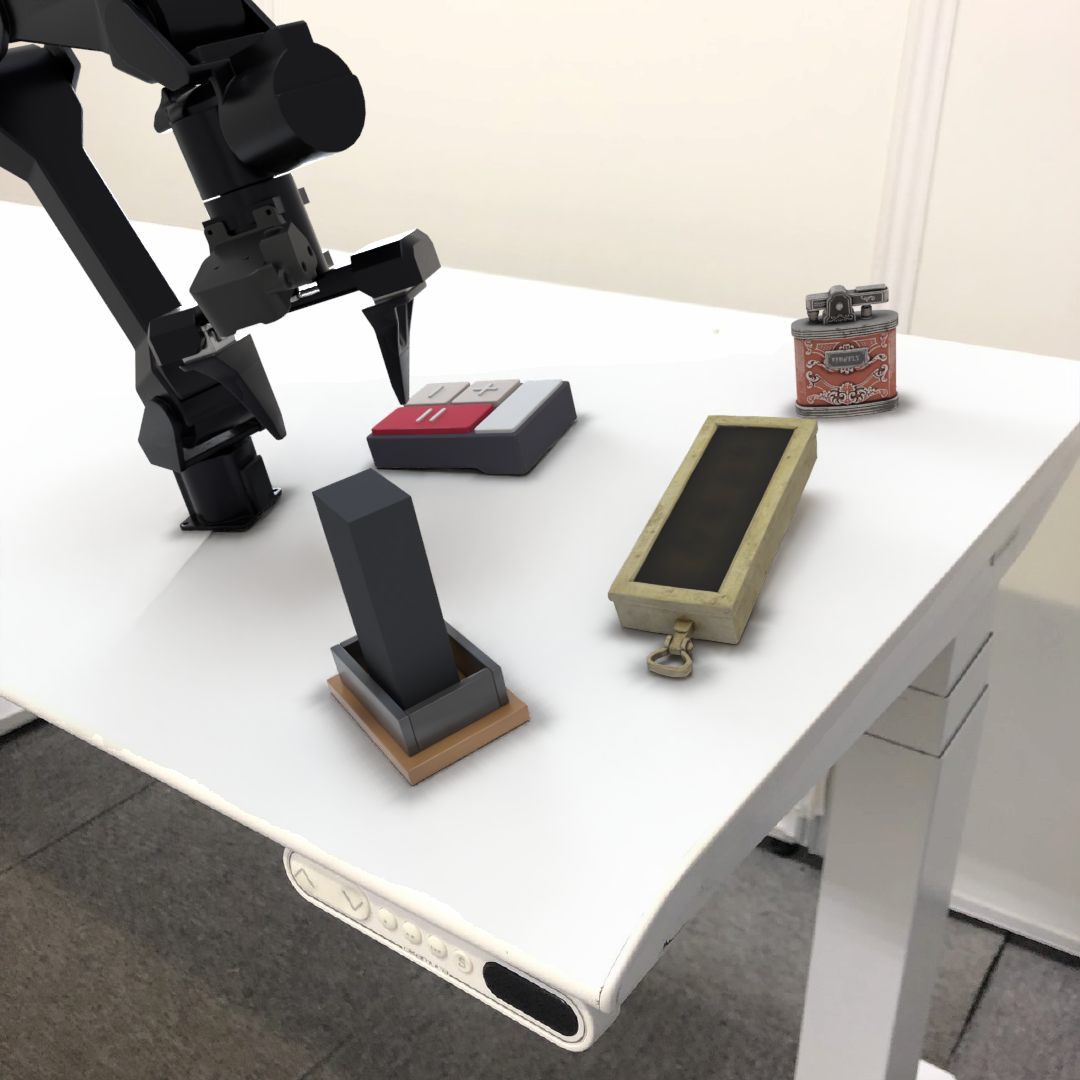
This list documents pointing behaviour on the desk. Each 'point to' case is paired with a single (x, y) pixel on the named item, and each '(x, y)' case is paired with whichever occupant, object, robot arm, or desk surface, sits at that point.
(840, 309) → the lighter
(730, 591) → the box
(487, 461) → the calculator
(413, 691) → the back pad
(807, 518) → the desk surface
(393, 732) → the grey tray
